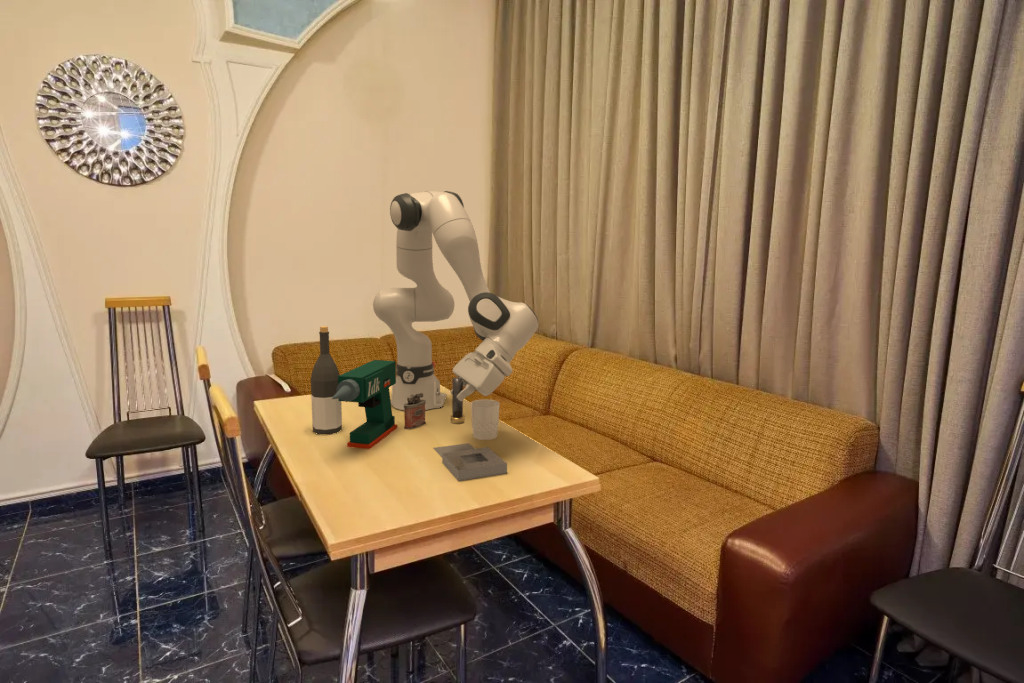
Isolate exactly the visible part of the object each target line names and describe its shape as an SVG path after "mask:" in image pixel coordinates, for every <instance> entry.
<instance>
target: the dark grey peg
mask: <svg viewBox="0 0 1024 683" xmlns="http://www.w3.org/2000/svg"><path fill="white" fill-rule="evenodd" d="M452 389H453V395H452V414H451V415H450V424H451V425H462V424H465V418H466V417H465V415H464V414H463V412H464V410H463V408H464V406H463V404H464V403H463V402H464V400H463V401H460V400H458V399H457V398H456V394H457V393H458V392H459V391H460V392H461V391H462V390H463V389H464V386H463V378H460V377H457V376H455V377H453V378H452Z"/></svg>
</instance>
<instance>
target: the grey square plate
mask: <svg viewBox="0 0 1024 683" xmlns="http://www.w3.org/2000/svg"><path fill="white" fill-rule="evenodd" d="M470 449H476V448H475V447H474V446H473V445H472V444H470V443H469V442H468V443H461V444H459V443H458V444H451V445H445V446H437V447H433V450H434V451H435V452H436V453H437V454H438V456H440V458H442V453H448V452H455V451H463V450H470Z"/></svg>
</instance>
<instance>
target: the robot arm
mask: <svg viewBox="0 0 1024 683" xmlns="http://www.w3.org/2000/svg"><path fill="white" fill-rule="evenodd" d="M389 215H390V218H391V222H392V224H393V226H394V227H396V228H397V229H396V230H397V231H396V241H395V242H396V245H395V247H396V270H397V272H398V273H399V274H400V275H401V276H403V277H405V278H406V279H408V280H411V281H412V282H413V283H415V284H416V286H415V287H392V288H384V289H381V290H379V291H378V292H377V293H376V294H375V296H374V298H373V300H372V301H373V302H372V307H373V308H372V309H373V312H374V315H375V316H376V317H377V318H378V319H379V320H380V321H381V322H383V323H384V324H385V325H386V326H387V327H388V328H389V329H390V331H391V332H392V335H393V336H394V338H395V343H396V351H397V352H396V353H397V363H396V384H394V385H392V386H391V387H392V388H391V398H390V400H391V407H393V408H394V409H397V410H400V411H405V410H404V404H406V403H408V401H407V397H409V396H410V395H411V394H415V395H416V394H417V393H423V397H422V398H420V400H426V403H425V411H427V410H431V409H441V408H443V407H444V405H445V402H446V400H445V398H446V399H447V397H448V396H447V395H448V394H446V393H444V392H441V381H440V380H439V379H438V377H436V375H435V366H436V362H435V361H433V360H432V358H433V356H432V355H433V354H432V352H433V351H432V350H433V346H432V341H431V339H430V337H429V336H427V335H426V334H424V333H422V332H420V331H419V330H416V329H415V328H414V327H413V326H412V324H413V323H415V322H416V323H417V322H418V323H419V322H420V323H421V322H423V323H426V322H428V323H429V322H431V323H432V322H433V323H434V322H439V321H444V320H448V319H450V317H451V316H452V315H453V313H454V310H455V300H454V297H453V295H452V293H451V292H450V291H449V290H448V289H446V288H445V287H444V286H443V285H442V284H441V283H440V281H439V280H438V279H437V277H436V274H435V271H434V264H433V238H434V240H435V242H436V245H437V247H438V248H439V250H440V252H441V254H442V255H443V257H444V259H445V260H446V261H447V262H448V264H449V265H450V267H451V268H452V270H453V271H454V272H455V274H456V276H457V277H458V279H459V281H460V282H461V284H462V287H463V289H464V291H465V294H466V295H467V298H468V301H469V304H468V307H467V313H468V317H469V319H470V322H471V325H472V327H473V330H474V333H475V335H476V337H477V338H478V339H479V340H481V343H480V344H479V345H478V346H477V347H476V348H475V349H474V351H473V352H469V353H467V354H466V355H464V356H463V357H462V358H461V359H460V360H459V361H458V362H457V363H456V365H454V367H453V368H452V371H451V372H452V373H453V374H454V375H455V377H460V378H463V387H464V388H463V390H462V391H461V392H460V391H459V392H458V393H457V394H456V398H457V399H458V400H460V401H463V402H464V400H465V399H466V398H467V397H468V396H471V395H472V394H473V393H474V392H475V391H477V392H478V393H479V394H481V395H482V396H484V397H487V396H489V395H492V393H494V391H496V389H497V388H498V387H499V386H500V385H501V384H502V383H503V382H504V380H505V378H506V377H509V376H510V375H511V374H512V373H513V367H512V366H511V362H512V360H513V359H514V357H515V355H516V354H517V353H518V351H520V350H521V349H523V348H524V347H525V346H526V345H527V343H528V342H529V341H530V340H531V339H532V337H533V336H534V335H535V334H536V332H537V330H538V328H539V319H538V317H537V314H536V313H535V311H534V310H533V309H532V308H531V307H530V306H529V305H528V304H526V303H524V302H515V301H510V300H507V299H505V298H502V297H500V296H498V295H496V294H494V293H492V292H490V289H489V287H488V285H487V281H486V280H485V277H484V274H483V270H482V263H481V258H480V249H479V244H478V239H477V235H476V232H475V228H474V226H473V223H472V222H471V219H470V217H469V214H468V213H467V211H466V209H465V206H464V203H463V199H462V198H461V196H460V195H459V194H458V193H456V192H453V191H448V190H445V191H439V190H426V191H421V192H420V191H418V192H412V193H407V192H405V193H401V194H398V195H395V196H394V198H392V201H391V203H390V206H389ZM450 394H451V395H452V396H453V388H452V389H451V390H450ZM446 396H447V397H446ZM444 401H445V402H444ZM443 404H444V405H443ZM442 406H443V407H442ZM440 407H441V408H440Z"/></svg>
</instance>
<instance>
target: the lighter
mask: <svg viewBox="0 0 1024 683" xmlns="http://www.w3.org/2000/svg"><path fill="white" fill-rule="evenodd" d="M422 397H423V393H417V394H416V395H415V394H411V395H410V396H409V397H407V401H408V403H406V404H404V410H403V411H404V427H403V430H408V431H409V430H413V429H417V428H420V427H423V426H425V425H426V424H427V422H426V410H425V403H426V400H420V398H422Z"/></svg>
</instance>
